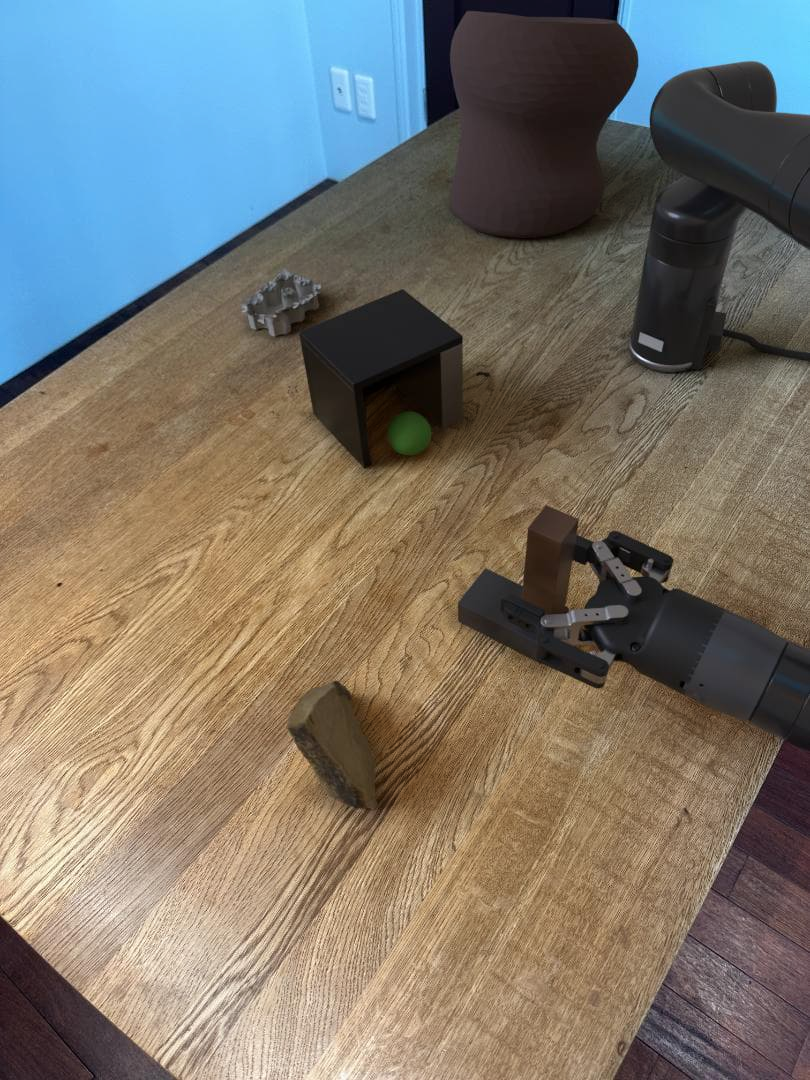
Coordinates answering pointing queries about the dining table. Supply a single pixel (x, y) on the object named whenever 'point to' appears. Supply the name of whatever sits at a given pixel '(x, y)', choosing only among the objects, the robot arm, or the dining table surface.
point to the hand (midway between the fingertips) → (527, 569)
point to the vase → (534, 118)
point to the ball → (409, 433)
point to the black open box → (382, 366)
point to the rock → (334, 744)
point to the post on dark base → (525, 583)
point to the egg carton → (281, 303)
